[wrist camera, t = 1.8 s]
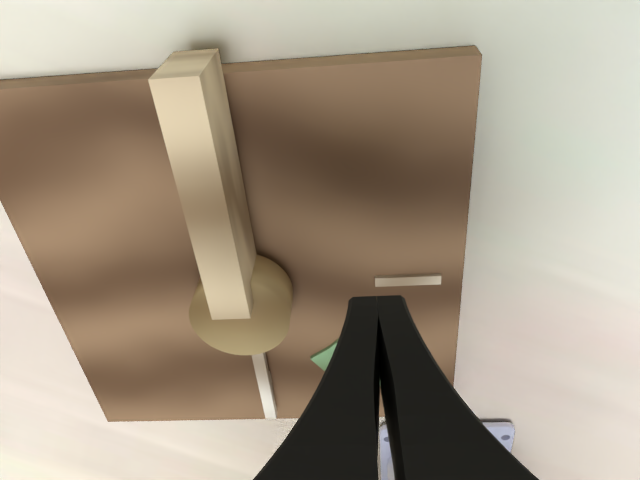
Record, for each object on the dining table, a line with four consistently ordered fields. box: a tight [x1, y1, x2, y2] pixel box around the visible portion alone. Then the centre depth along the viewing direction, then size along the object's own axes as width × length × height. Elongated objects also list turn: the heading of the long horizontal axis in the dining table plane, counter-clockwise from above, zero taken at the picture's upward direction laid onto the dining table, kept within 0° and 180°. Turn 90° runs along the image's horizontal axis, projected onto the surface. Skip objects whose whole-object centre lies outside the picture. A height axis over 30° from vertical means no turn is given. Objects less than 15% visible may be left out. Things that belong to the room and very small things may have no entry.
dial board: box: [0, 46, 482, 422], centre depth 26 cm, size 20×20×1 cm
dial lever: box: [148, 48, 293, 419], centre depth 23 cm, size 20×4×3 cm, turn 5°
